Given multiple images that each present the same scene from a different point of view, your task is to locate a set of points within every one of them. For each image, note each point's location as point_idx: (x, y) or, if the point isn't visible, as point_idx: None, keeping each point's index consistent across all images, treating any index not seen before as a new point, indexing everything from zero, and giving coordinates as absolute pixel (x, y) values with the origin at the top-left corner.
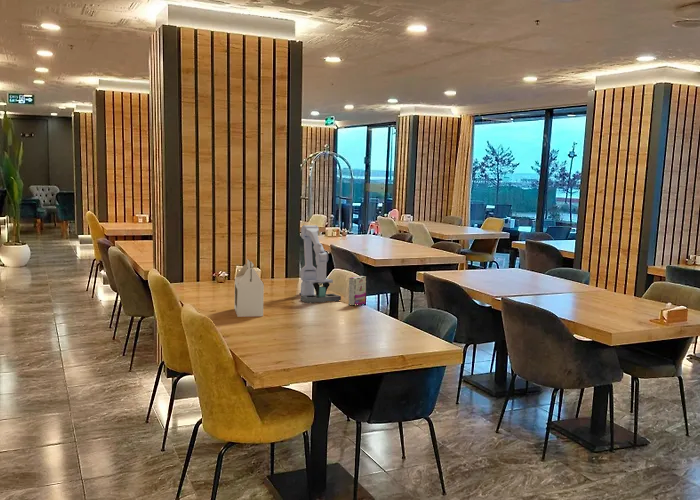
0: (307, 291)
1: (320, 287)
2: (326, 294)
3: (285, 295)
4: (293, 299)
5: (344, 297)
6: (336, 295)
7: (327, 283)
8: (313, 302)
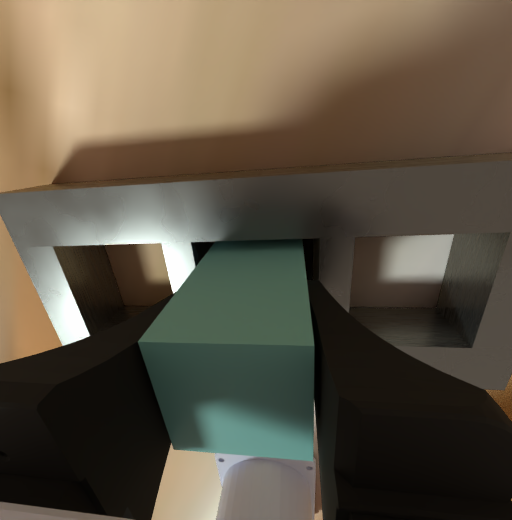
0: (290, 504)
1: (275, 364)
2: None
3: None
4: (499, 396)
5: (11, 339)
6: (49, 259)
7: (2, 459)
8: (423, 159)
